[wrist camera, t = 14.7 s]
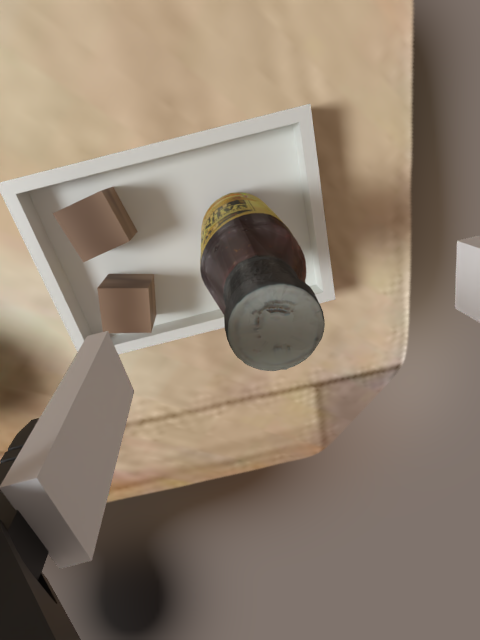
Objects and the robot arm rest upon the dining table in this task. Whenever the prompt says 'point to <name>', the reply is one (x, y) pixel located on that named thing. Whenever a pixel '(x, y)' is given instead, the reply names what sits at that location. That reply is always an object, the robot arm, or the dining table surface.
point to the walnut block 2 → (127, 303)
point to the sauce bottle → (259, 283)
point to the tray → (174, 219)
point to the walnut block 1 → (96, 224)
